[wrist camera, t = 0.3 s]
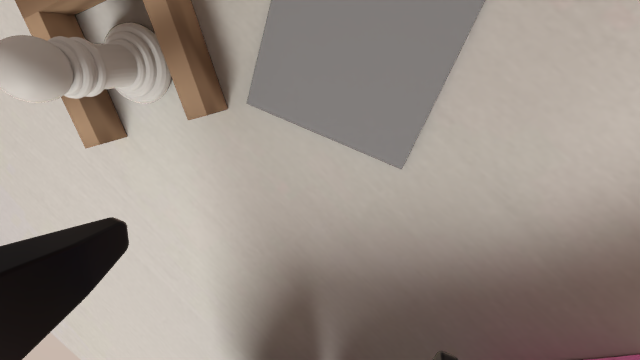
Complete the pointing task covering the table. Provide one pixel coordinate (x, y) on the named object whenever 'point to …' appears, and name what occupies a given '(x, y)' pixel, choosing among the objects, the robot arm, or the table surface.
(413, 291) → the table surface
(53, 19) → the wooden u-shaped pawn holder
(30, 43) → the chess piece
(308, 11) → the slate pad
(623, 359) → the gum box
